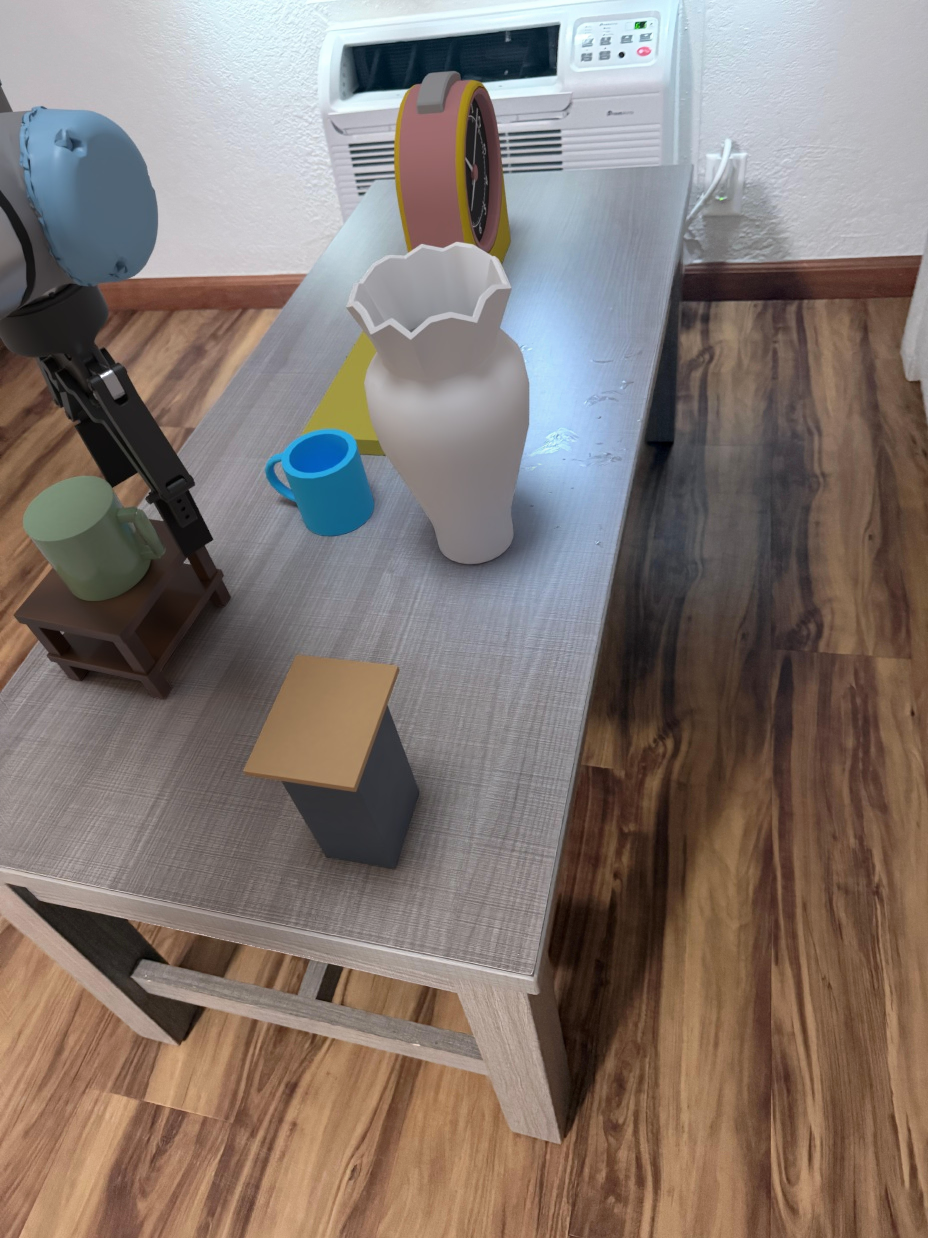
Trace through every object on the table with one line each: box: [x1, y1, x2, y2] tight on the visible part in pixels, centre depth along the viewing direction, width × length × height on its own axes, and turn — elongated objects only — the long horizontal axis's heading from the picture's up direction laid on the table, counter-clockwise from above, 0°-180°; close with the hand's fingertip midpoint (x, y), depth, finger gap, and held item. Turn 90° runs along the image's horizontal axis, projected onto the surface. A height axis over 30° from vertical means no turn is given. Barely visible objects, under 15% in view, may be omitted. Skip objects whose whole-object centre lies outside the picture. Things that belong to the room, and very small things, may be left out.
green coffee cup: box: [22, 475, 166, 601], centre depth 79 cm, size 10×8×8 cm
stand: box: [243, 654, 420, 870], centre depth 67 cm, size 10×8×16 cm
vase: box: [345, 242, 530, 565], centre depth 82 cm, size 15×15×29 cm
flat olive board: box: [300, 330, 387, 457], centre depth 112 cm, size 12×2×24 cm
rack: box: [12, 518, 232, 700], centre depth 87 cm, size 14×12×10 cm
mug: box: [264, 429, 375, 537], centre depth 96 cm, size 12×8×8 cm
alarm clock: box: [393, 70, 512, 266], centre depth 119 cm, size 21×9×26 cm, turn 167°
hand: (158, 511), depth 76 cm, fingers open, 13 cm apart
